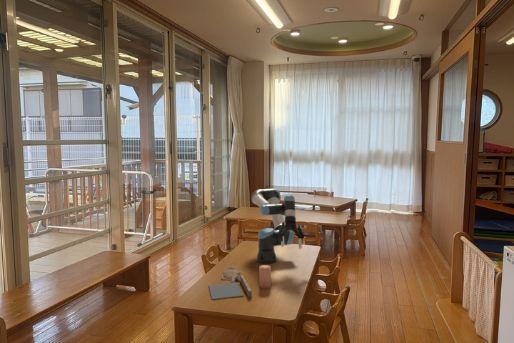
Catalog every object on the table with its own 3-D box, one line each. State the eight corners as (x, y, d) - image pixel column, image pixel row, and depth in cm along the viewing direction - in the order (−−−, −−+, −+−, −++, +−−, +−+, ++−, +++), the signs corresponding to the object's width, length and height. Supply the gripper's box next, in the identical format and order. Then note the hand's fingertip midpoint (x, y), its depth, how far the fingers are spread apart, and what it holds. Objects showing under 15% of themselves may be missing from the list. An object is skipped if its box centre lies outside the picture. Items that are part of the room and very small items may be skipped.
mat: (208, 286, 227) (208, 285, 227) (237, 283, 231) (237, 282, 231) (212, 299, 207) (212, 298, 207) (243, 296, 211) (243, 295, 211)
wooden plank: (240, 281, 234) (240, 274, 234) (242, 280, 235) (242, 274, 234) (248, 297, 209) (248, 291, 209) (251, 297, 209) (251, 290, 209)
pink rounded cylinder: (258, 284, 228) (258, 265, 227) (269, 283, 230) (269, 264, 229) (261, 288, 221) (260, 269, 220) (272, 287, 223) (272, 268, 222)
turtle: (244, 282, 239) (245, 267, 242) (239, 283, 231) (241, 266, 233) (221, 280, 244) (223, 264, 246) (216, 280, 235) (218, 264, 238)
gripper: (277, 213, 246) (278, 244, 237) (308, 217, 256) (310, 247, 247) (271, 216, 252) (272, 246, 243) (302, 220, 262) (304, 250, 253)
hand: (291, 247), depth 245 cm, fingers open, 13 cm apart
